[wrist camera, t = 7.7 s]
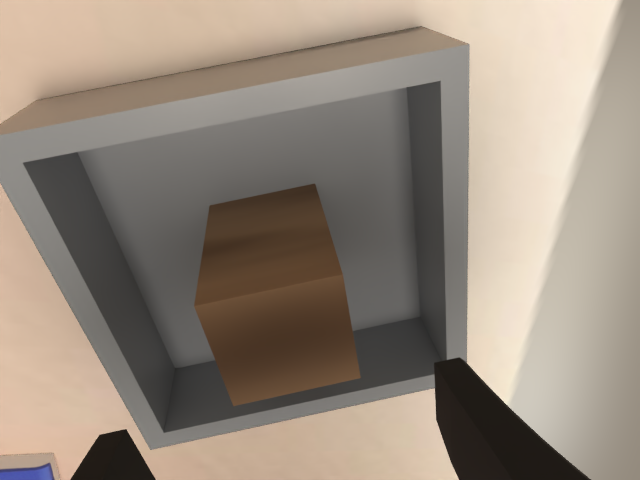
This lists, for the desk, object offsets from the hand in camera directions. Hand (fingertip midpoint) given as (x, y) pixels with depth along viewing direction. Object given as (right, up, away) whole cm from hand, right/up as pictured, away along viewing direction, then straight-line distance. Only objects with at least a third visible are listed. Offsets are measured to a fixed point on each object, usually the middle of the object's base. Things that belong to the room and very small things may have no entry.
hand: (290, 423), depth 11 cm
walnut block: (-1, +4, +8) cm, 9 cm away
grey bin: (-1, +5, +8) cm, 9 cm away
